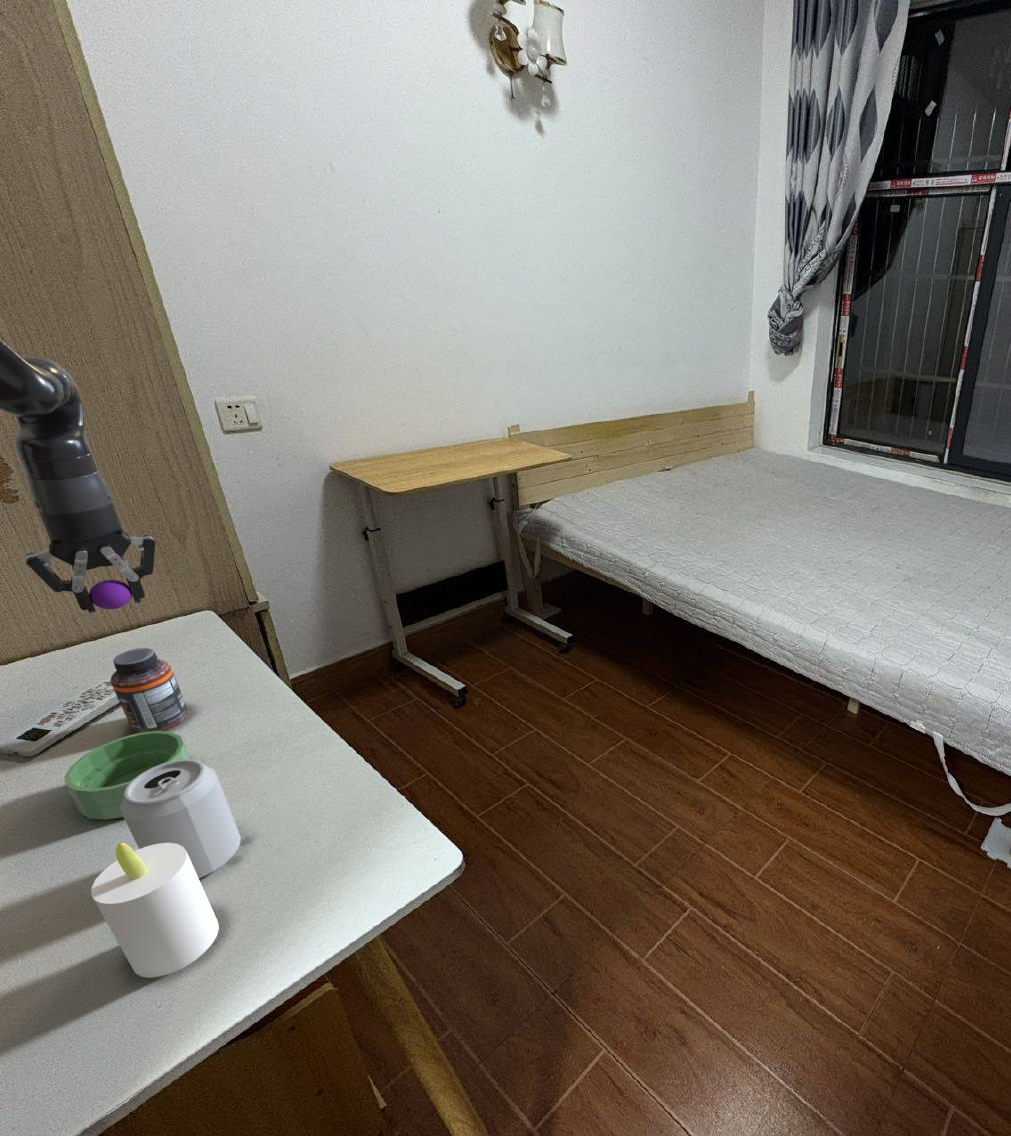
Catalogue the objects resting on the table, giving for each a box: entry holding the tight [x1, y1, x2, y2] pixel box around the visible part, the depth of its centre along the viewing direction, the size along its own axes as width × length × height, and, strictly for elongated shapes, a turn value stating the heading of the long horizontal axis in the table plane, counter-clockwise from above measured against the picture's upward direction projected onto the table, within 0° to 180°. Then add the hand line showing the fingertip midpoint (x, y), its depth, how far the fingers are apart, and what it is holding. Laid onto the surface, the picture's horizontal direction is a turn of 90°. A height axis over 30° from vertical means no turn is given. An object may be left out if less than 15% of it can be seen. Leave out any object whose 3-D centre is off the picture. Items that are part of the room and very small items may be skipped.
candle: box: [90, 842, 220, 979], centre depth 57 cm, size 6×6×15 cm
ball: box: [88, 579, 133, 610], centre depth 95 cm, size 5×5×5 cm
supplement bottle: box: [110, 647, 189, 734], centre depth 84 cm, size 6×6×11 cm
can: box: [120, 758, 242, 879], centre depth 66 cm, size 8×8×12 cm
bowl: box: [64, 730, 191, 821], centre depth 75 cm, size 10×10×5 cm
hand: (114, 605), depth 96 cm, fingers closed on ball, 4 cm apart
